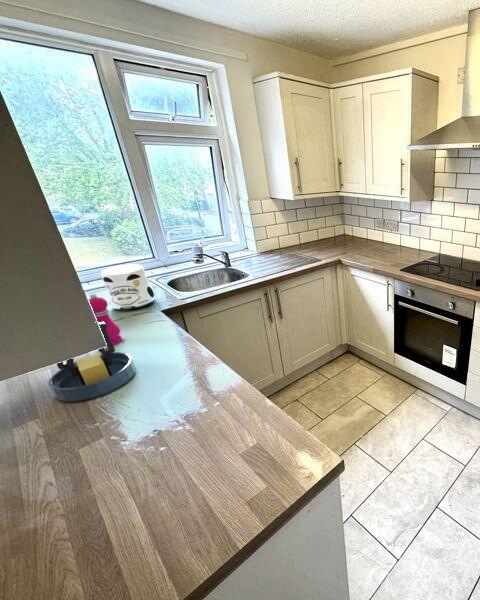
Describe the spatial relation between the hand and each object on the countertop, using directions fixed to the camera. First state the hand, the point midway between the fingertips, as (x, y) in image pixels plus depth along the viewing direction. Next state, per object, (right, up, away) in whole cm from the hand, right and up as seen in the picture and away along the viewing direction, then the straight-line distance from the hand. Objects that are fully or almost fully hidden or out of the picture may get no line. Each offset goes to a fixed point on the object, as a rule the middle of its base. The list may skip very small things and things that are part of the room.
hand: (97, 378), depth 101 cm
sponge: (0, -1, 0) cm, 1 cm away
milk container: (-33, +22, +55) cm, 68 cm away
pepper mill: (-16, +8, +24) cm, 30 cm away
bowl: (-1, -2, +2) cm, 2 cm away
